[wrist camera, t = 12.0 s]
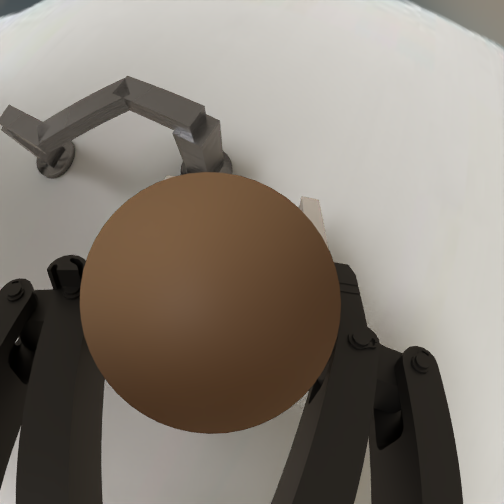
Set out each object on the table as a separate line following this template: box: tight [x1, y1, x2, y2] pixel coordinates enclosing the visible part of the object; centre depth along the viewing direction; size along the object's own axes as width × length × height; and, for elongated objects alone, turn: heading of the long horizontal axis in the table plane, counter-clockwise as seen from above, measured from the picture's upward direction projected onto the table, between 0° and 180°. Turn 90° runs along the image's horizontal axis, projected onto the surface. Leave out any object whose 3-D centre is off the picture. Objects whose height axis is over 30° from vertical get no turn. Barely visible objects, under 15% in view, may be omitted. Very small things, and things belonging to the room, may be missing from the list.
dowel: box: [80, 172, 341, 434], centre depth 12 cm, size 5×5×12 cm
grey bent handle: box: [0, 76, 232, 178], centre depth 16 cm, size 15×4×7 cm, turn 84°
